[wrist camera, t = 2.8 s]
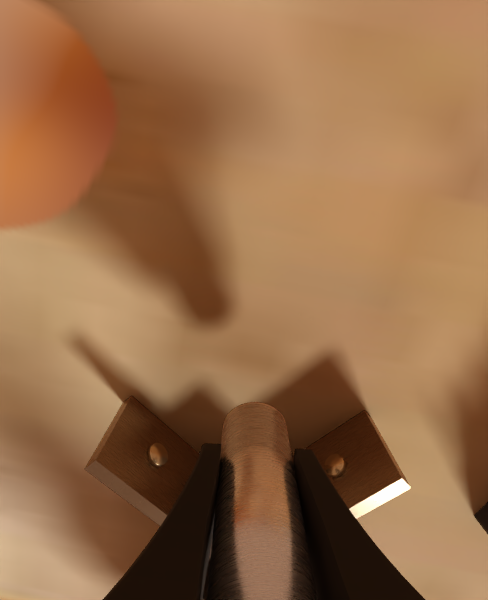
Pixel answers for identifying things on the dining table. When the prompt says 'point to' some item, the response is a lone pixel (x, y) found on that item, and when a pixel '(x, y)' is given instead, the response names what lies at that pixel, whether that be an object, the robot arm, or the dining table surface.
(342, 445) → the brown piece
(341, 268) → the dining table surface
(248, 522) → the pin
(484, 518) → the ammunition clip
